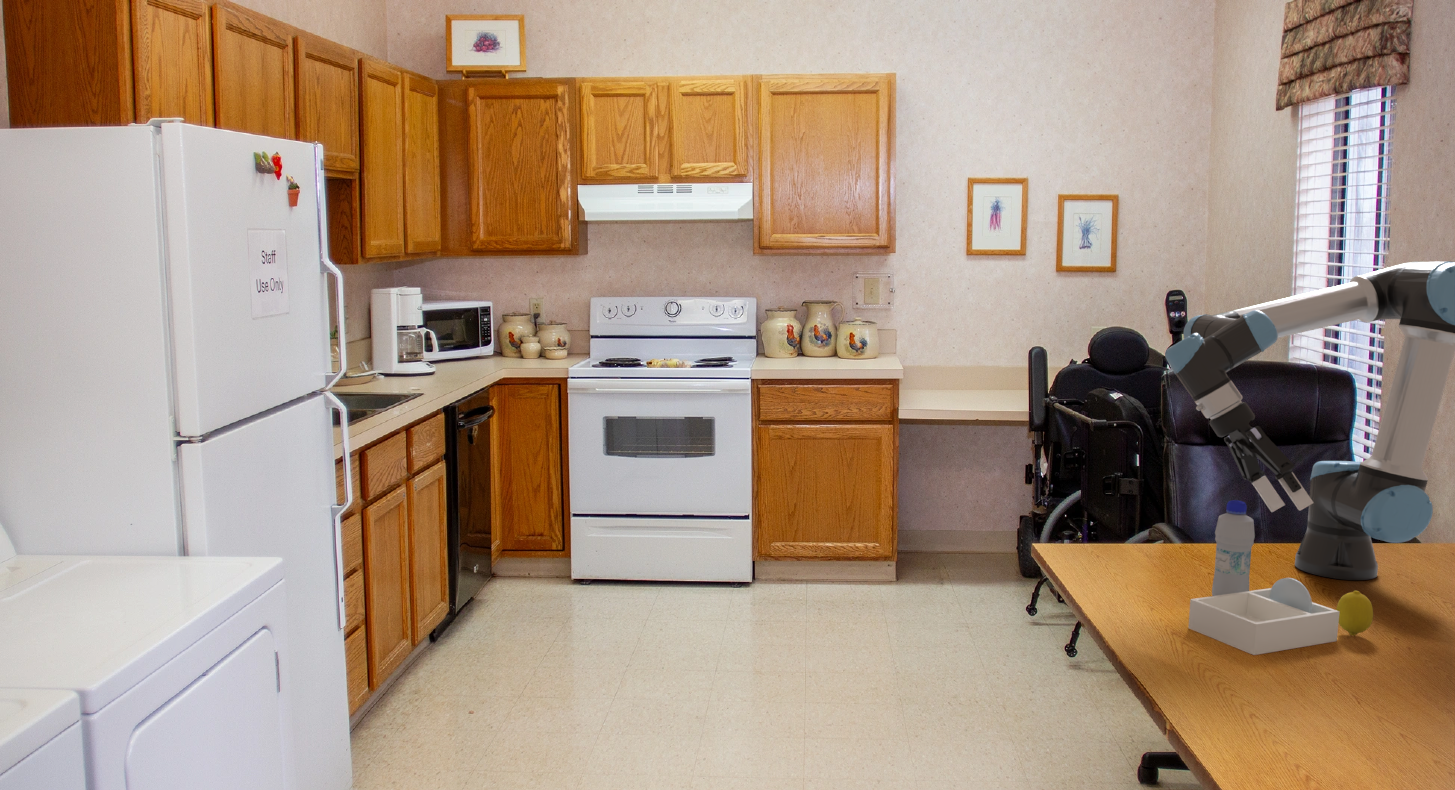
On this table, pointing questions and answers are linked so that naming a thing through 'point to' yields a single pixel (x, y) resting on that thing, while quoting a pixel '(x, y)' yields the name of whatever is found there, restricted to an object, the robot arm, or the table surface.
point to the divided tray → (1265, 618)
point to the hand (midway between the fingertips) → (1291, 507)
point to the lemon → (1355, 612)
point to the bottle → (1233, 550)
